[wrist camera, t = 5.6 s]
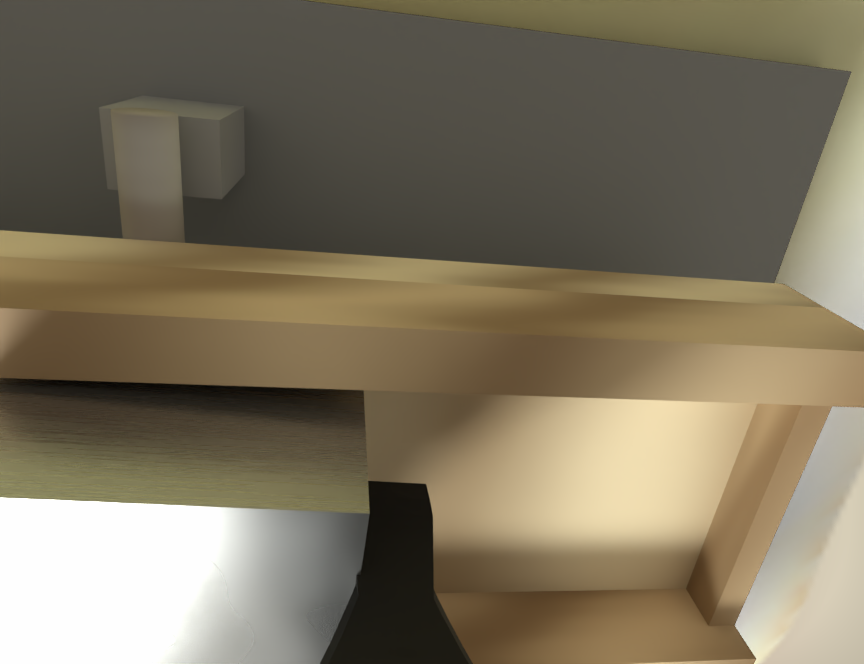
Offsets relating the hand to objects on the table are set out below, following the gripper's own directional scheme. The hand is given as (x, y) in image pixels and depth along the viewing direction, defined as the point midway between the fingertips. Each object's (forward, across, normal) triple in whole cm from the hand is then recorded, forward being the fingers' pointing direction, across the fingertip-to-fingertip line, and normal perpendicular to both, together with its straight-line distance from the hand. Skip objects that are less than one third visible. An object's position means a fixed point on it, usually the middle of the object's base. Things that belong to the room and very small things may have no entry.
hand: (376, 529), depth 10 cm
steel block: (+2, +3, 0) cm, 3 cm away
